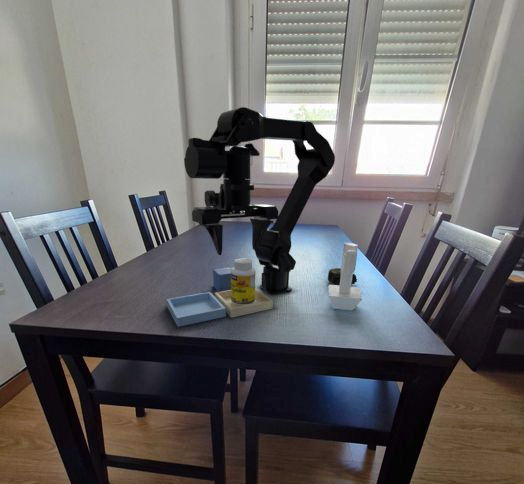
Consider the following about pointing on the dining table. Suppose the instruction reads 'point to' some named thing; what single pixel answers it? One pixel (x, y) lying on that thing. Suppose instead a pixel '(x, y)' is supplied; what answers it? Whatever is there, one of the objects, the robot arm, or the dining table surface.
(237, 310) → the cream tray
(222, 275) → the blue block
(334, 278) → the tape measure
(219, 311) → the blue tray
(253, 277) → the supplement bottle
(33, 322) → the dining table surface
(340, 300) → the white joystick
